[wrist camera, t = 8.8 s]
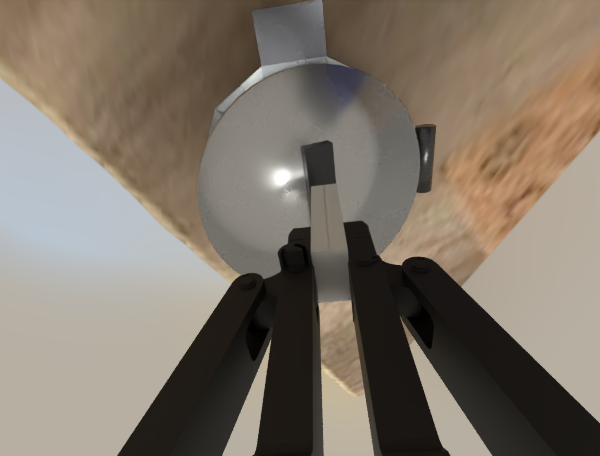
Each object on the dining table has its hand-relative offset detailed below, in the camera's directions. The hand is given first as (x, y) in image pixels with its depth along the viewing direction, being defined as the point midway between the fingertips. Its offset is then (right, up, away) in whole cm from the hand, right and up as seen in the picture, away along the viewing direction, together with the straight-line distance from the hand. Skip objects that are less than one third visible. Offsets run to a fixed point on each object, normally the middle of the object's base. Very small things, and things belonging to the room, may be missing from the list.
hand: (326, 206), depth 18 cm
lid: (0, +1, +3) cm, 3 cm away
